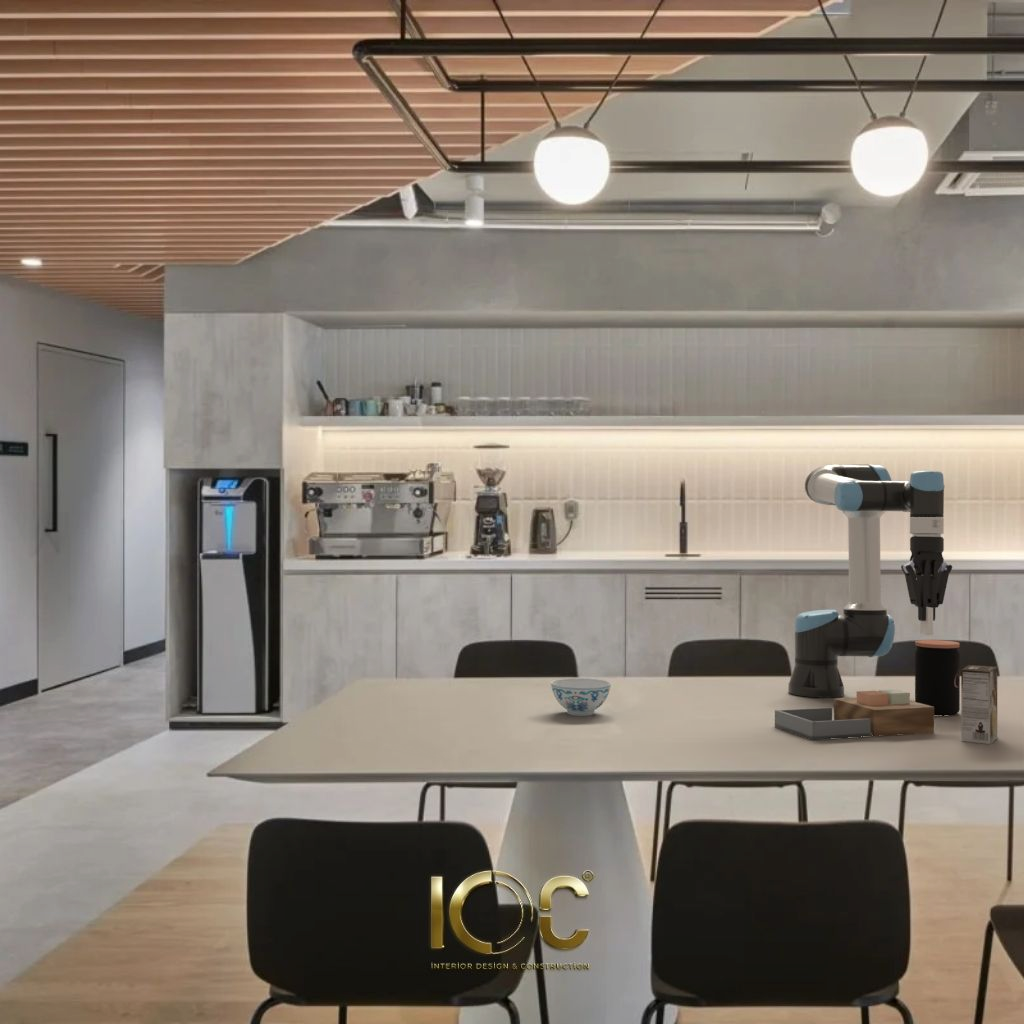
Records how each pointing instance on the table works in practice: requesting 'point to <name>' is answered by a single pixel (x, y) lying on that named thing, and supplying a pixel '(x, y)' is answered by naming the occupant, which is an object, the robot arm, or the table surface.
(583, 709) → the chinaware
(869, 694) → the terracotta tile
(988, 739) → the coffee box
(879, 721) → the walnut board
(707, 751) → the table surface
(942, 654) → the coffee jar
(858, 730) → the tray
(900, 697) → the sage tile
